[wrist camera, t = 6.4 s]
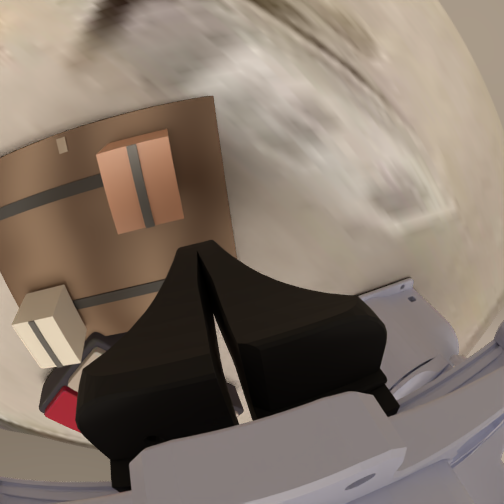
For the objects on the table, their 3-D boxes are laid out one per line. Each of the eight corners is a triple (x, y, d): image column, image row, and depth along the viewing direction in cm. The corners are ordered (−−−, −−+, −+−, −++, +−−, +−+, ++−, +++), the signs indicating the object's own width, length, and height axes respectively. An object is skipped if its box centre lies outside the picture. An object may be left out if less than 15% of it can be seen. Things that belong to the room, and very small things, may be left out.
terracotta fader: (167, 128, 14) (168, 136, 11) (180, 196, 16) (184, 219, 13) (107, 143, 13) (95, 155, 11) (124, 210, 15) (117, 235, 13)
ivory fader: (64, 284, 16) (52, 317, 13) (86, 329, 18) (80, 364, 15) (26, 293, 16) (11, 326, 13) (50, 336, 17) (41, 369, 15)
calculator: (92, 344, 17) (249, 417, 25) (98, 306, 21) (235, 383, 28) (35, 417, 18) (173, 468, 26) (42, 381, 22) (167, 436, 30)
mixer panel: (207, 96, 16) (213, 95, 14) (237, 287, 22) (244, 305, 21) (-21, 167, 13) (-37, 176, 11) (49, 329, 20) (43, 348, 18)
